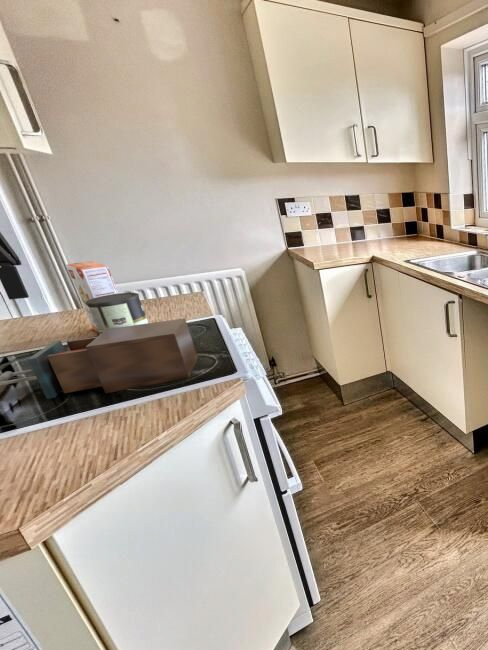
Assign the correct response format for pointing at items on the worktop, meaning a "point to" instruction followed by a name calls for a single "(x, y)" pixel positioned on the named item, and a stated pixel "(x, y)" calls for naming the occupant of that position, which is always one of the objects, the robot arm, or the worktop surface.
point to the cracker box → (91, 283)
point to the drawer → (60, 369)
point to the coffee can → (117, 311)
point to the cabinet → (143, 355)
